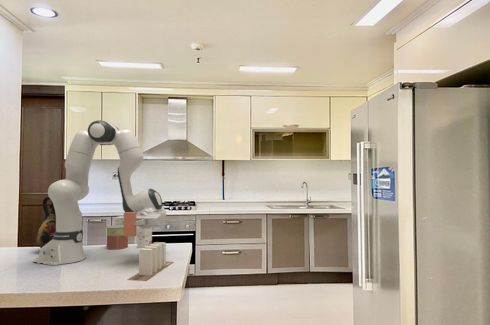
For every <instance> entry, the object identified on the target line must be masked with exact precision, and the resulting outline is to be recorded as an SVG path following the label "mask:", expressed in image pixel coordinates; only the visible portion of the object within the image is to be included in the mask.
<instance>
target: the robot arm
mask: <svg viewBox="0 0 490 325" xmlns="http://www.w3.org/2000/svg"><path fill="white" fill-rule="evenodd" d="M99 145H100V146H112V145H113V146H114V147H115V148H116V151H117V154H118V156H119V166H118V167H117V178H118V184H119V188H120V194H121V198H122V199H121V200H122V209H123V213H124V212H136V221H135V222H134V223H135V224H134V225H136V227H140V228H142V229H146V228H150V227H152V228H154V227H156V228H157V227H162V226H163V222H164V221H165V220H166V217H167V211H166V209H165V208H164V207H163V200H162V196H161V194H160V193H159V192H158V191H156V190H155V189H153V188H148V189H146V190H142V191H141V192H138V193H135V194H133V188H132V184H131V176H132V175H133V173H135V171H137V169H138V168H139V167H140V166H141V164H143V162H144V153H143V150H142V147H141V145H140V142H139V140H138V138H137V136H136V135H135V133H134V132H133V131H132V130H131V129H127V128H126V129H119V127H118V126H116V125H114V124H113V123H111V122H108V121H105V120H94V121H92V122H91V123H90V124H89V125H88V127H87V130H85V129H84V130H79V131H77V132H76V133H75V135H74V136H73V138H72V141H71V142H70V146H69V148H68V152H67V154H66V158H65V161H64V168H65V179H59V180H57V181H55V182H53V183H51V184H50V185H49V187H48V189H47V195H48V196H49V198H50V199H51V200H50V201H52V202H51V203H53V205H54V208H55V213H56V231H55V232H54V233H51V234H52V235H53V238H52V240H51V241H50V242H48V243H47V244H46V245H45V246H43V247H42V248H40V250H39V253H38V257H36V258H34V259H33V260H32V263H33V262H37V263H36V264H40V263H43V264H42V265H49V266H58V265H64V264H71V263H76V262H80V261H83V260H84V259H86V257H85V252H84V248H83V247H84V246H83V239H84V238H83V237H84V230H83V213H82V211H81V210H80V206H79V201H81V200H83V199H84V198H86V197H87V196H88V194H89V192H90V187H89V173H90V169H91V165H92V163H93V162H92V161H93V158H94V154H95V151H96V148H97V147H98V146H99ZM48 196H47V197H48ZM114 219H115V220H114V224H115V225H124V215H121V216H116V217H115V218H114ZM52 235H51V236H52Z"/></svg>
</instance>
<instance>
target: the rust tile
mask: <svg viewBox="0 0 490 325" xmlns="http://www.w3.org/2000/svg"><path fill="white" fill-rule="evenodd" d="M123 216H124V236H128V237H137V225H134V224H135V223H134V222H135V221H136V212H124V211H123Z"/></svg>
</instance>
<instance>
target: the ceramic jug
mask: <svg viewBox="0 0 490 325" xmlns="http://www.w3.org/2000/svg"><path fill="white" fill-rule="evenodd" d="M48 201H52V200H51V199H50V198H49V196H46V197H44V198H43V200H42V208H43V212H44V214H45V215H44V219H43V222H42V224H41V225H40V227H39V229H38V231H37V233H36V244H37V246H38V247H39V248H40V249H41V248H42V247H43V246H45V245H46V244H47V243H48V242H50V241H51V240H52V238H53V235H52V234H51V233H54V232H55V231H56V213H55V208H54V205H53V202H51V204H49V206H48V204H47V203H48ZM48 207H49V208H48ZM49 209H51V211H50V212H49ZM51 235H52V236H51Z"/></svg>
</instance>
